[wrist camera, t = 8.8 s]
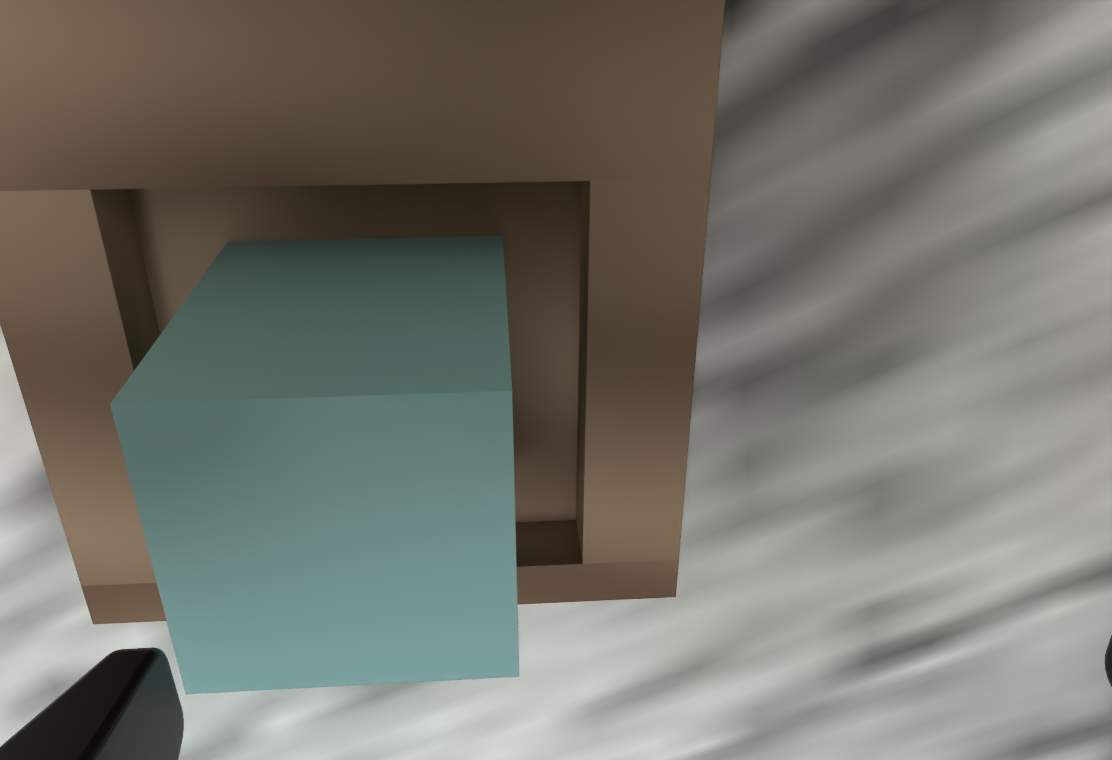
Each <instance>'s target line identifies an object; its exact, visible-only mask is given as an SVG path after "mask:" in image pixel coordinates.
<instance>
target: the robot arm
mask: <svg viewBox="0 0 1112 760" xmlns="http://www.w3.org/2000/svg"><path fill="white" fill-rule="evenodd" d="M1105 669H1106V673H1107V677H1108V680H1109V682H1110V685H1111V687H1112V636H1111V639H1110V642H1109V644H1108V647H1107V650H1106V654H1105ZM183 729H184V719H183V712H182V707H181V704H180V700H179V697H178V694H177V690H176V687H175V683H174V680H173V676H172V673H171V669H170V666H169V662H168V659H167V657H166V655H165V654H164V652H163V651H162V650H160V649H158V648H138V649H121V650H117V651H114V652H112V653H110V654H109V655H108V656H106V657H105V658H104V659H103V660H101V661H100V662H99V663H98V664H97V665H95V666H94V667H93V668H92V669H91V670H90V671H88V672H87V673H86V674H85V675H84V676H83V677H81V678H80V679H79V680H78V681H77V682H76V683H74V684H73V685H72V686H71V687H70V688H69V689H67V690H66V691H65V692H64V693H63V694H61V695H60V696H59V697H58V698H57V699H56V700H54V701H53V702H52V703H51V704H50V705H49V706H47V707H46V708H45V709H44V710H43V711H42V712H40V713H39V714H38V715H37V716H36V717H35V718H33V719H32V720H31V721H30V722H29V723H28V724H26V725H25V726H24V727H23V728H22V729H20V730H19V731H18V732H17V733H16V734H15V735H13V736H12V737H11V738H10V739H9V740H8V741H6V742H5V743H4V744H3V745H2V746H1V747H0V760H178V758H179V753H180V749H181V744H182V738H183Z"/></svg>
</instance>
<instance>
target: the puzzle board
mask: <svg viewBox="0 0 1112 760" xmlns="http://www.w3.org/2000/svg"><path fill="white" fill-rule="evenodd" d="M724 8H725V0H0V325H1V328H2V331H3V334H4V338H5V341H6V344H7V347H8V350H9V354H10V357H11V360H12V363H13V367H14V370H15V373H16V376H17V380H18V383H19V386H20V389H21V392H22V396H23V399H24V402H25V405H26V409H27V412H28V415H29V418H30V422H31V425H32V428H33V431H34V434H35V438H36V441H37V444H38V447H39V451H40V454H41V457H42V460H43V464H44V467H45V470H46V473H47V477H48V480H49V483H50V486H51V489H52V493H53V496H54V499H55V502H56V506H57V509H58V512H59V515H60V519H61V522H62V525H63V528H64V531H65V535H66V538H67V541H68V544H69V548H70V551H71V554H72V557H73V561H74V564H75V567H76V570H77V573H78V577H79V580H80V583H81V586H82V590H83V593H84V596H85V599H86V603H87V606H88V609H89V612H90V615H91V619H92V622H93V624H108V623H129V622H151V621H167V620H166V616H165V613H164V609H163V605H162V601H161V597H160V593H159V590H158V586H157V582H156V578H155V574H154V570H153V567H152V563H151V559H150V555H149V551H148V548H147V544H146V540H145V536H144V532H143V528H142V525H141V521H140V517H139V513H138V509H137V505H136V502H135V498H134V494H133V490H132V486H131V482H130V479H129V475H128V471H127V467H126V463H125V460H124V456H123V452H122V448H121V444H120V440H119V437H118V433H117V429H116V425H115V421H114V417H113V414H112V410H111V406H110V404H111V402H112V401H113V399H114V398H115V397H116V395H117V394H118V392H119V391H120V390H121V388H122V387H123V386H124V384H125V383H126V381H127V380H128V379H129V377H130V376H131V374H132V373H133V372H134V370H135V369H136V368H137V366H138V365H139V363H140V362H141V361H142V359H143V358H144V356H145V355H146V354H147V352H148V351H149V350H150V348H151V347H152V345H153V344H154V343H155V341H156V340H157V339H158V337H159V336H160V334H161V333H162V332H163V330H164V329H165V327H166V326H167V325H168V323H169V322H170V321H171V319H172V318H173V316H174V315H175V314H176V312H177V311H178V309H179V308H180V307H181V305H182V304H183V303H184V301H185V300H186V298H187V297H188V296H189V294H190V293H191V291H192V290H193V289H194V287H195V286H196V285H197V283H198V282H199V280H200V279H201V278H202V276H203V275H204V274H205V272H206V271H207V269H208V268H209V267H210V265H211V264H212V262H213V261H214V260H215V258H216V257H217V256H218V254H219V253H220V251H221V250H222V249H223V247H224V246H225V244H226V243H227V242H236V241H280V240H325V239H369V238H413V237H457V236H501V235H503V248H504V264H505V281H506V297H507V314H508V330H509V347H510V363H511V380H512V404H513V445H514V485H515V526H516V567H517V604H535V603H557V602H578V601H599V600H621V599H642V598H664V597H676V588H677V576H678V564H679V551H680V539H681V527H682V515H683V503H684V491H685V479H686V467H687V455H688V443H689V431H690V419H691V407H692V394H693V382H694V370H695V358H696V346H697V334H698V322H699V310H700V298H701V286H702V274H703V262H704V250H705V237H706V225H707V213H708V201H709V189H710V177H711V165H712V153H713V141H714V129H715V117H716V105H717V93H718V80H719V68H720V56H721V44H722V32H723V20H724Z"/></svg>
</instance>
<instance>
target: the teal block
mask: <svg viewBox="0 0 1112 760" xmlns="http://www.w3.org/2000/svg"><path fill="white" fill-rule="evenodd" d="M110 406H111V410H112V414H113V417H114V421H115V425H116V429H117V433H118V437H119V440H120V444H121V448H122V452H123V456H124V460H125V463H126V467H127V471H128V475H129V479H130V482H131V486H132V490H133V494H134V498H135V502H136V505H137V509H138V513H139V517H140V521H141V525H142V528H143V532H144V536H145V540H146V544H147V548H148V551H149V555H150V559H151V563H152V567H153V570H154V574H155V578H156V582H157V586H158V590H159V593H160V597H161V601H162V605H163V609H164V613H165V616H166V620H167V624H168V628H169V632H170V636H171V639H172V643H173V647H174V651H175V655H176V658H177V662H178V666H179V670H180V674H181V678H182V681H183V685H184V689H185V693H186V694H199V693H218V692H237V691H255V690H274V689H293V688H312V687H331V686H350V685H369V684H387V683H406V682H425V681H444V680H463V679H482V678H501V677H519V649H518V608H517V567H516V526H515V485H514V445H513V404H512V380H511V363H510V347H509V330H508V314H507V297H506V281H505V264H504V248H503V235H501V236H457V237H413V238H369V239H325V240H280V241H236V242H227V243H226V244H225V246H224V247H223V249H222V250H221V251H220V253H219V254H218V256H217V257H216V258H215V260H214V261H213V262H212V264H211V265H210V267H209V268H208V269H207V271H206V272H205V274H204V275H203V276H202V278H201V279H200V280H199V282H198V283H197V285H196V286H195V287H194V289H193V290H192V291H191V293H190V294H189V296H188V297H187V298H186V300H185V301H184V303H183V304H182V305H181V307H180V308H179V309H178V311H177V312H176V314H175V315H174V316H173V318H172V319H171V321H170V322H169V323H168V325H167V326H166V327H165V329H164V330H163V332H162V333H161V334H160V336H159V337H158V339H157V340H156V341H155V343H154V344H153V345H152V347H151V348H150V350H149V351H148V352H147V354H146V355H145V356H144V358H143V359H142V361H141V362H140V363H139V365H138V366H137V368H136V369H135V370H134V372H133V373H132V374H131V376H130V377H129V379H128V380H127V381H126V383H125V384H124V386H123V387H122V388H121V390H120V391H119V392H118V394H117V395H116V397H115V398H114V399H113V401H112V402H111V404H110Z"/></svg>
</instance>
